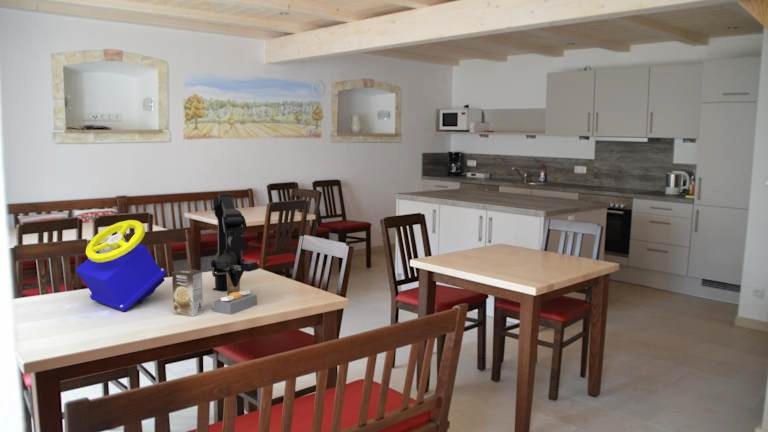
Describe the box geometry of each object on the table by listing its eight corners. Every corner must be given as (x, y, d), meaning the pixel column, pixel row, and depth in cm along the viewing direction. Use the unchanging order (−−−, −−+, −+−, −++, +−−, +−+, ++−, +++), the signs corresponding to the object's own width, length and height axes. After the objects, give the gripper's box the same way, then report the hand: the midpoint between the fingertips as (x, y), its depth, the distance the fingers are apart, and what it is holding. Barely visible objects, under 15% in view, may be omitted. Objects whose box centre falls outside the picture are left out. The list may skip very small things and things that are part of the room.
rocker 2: (237, 295, 245) (236, 292, 245) (242, 293, 248) (242, 290, 248) (244, 295, 243) (244, 292, 243) (250, 293, 246) (249, 290, 246)
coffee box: (172, 314, 234) (170, 271, 231) (183, 309, 240) (181, 268, 237) (193, 317, 231) (191, 273, 228) (204, 312, 237) (202, 270, 234)
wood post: (224, 298, 256) (224, 274, 255) (233, 295, 260) (232, 271, 259) (234, 299, 254) (233, 275, 252) (242, 297, 258) (242, 272, 257)
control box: (148, 269, 268) (113, 214, 251) (188, 282, 253) (154, 224, 236) (100, 312, 253) (59, 255, 236) (140, 328, 238) (99, 269, 221)
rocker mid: (228, 296, 241) (229, 293, 241) (234, 294, 244) (234, 291, 243) (236, 299, 239) (236, 296, 239) (241, 297, 242) (242, 294, 242)
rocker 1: (220, 300, 237) (220, 297, 237) (226, 298, 240) (226, 295, 239) (228, 300, 235) (227, 297, 235) (234, 298, 238) (233, 295, 238)
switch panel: (214, 311, 237) (213, 301, 237) (240, 302, 250) (240, 292, 250) (230, 314, 234) (230, 304, 233) (256, 304, 247) (256, 294, 246)
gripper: (199, 247, 236) (201, 288, 238) (239, 251, 227) (240, 294, 229) (220, 242, 246) (221, 282, 248) (259, 246, 237) (260, 287, 239)
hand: (235, 286), depth 241 cm, fingers closed
